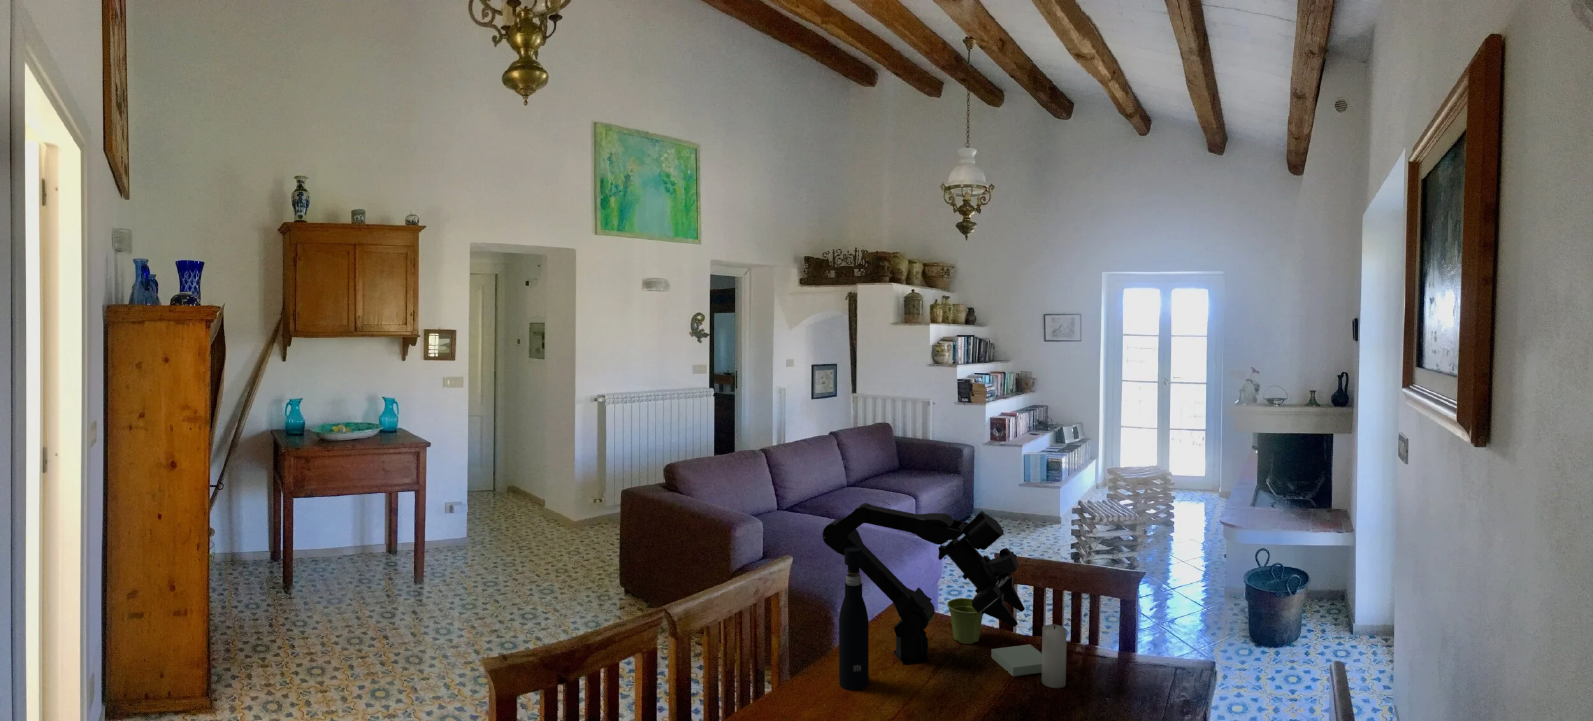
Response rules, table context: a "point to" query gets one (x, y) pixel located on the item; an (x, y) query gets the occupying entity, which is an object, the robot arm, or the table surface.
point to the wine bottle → (853, 627)
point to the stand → (1019, 659)
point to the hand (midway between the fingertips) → (1019, 617)
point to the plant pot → (965, 620)
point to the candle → (1054, 656)
